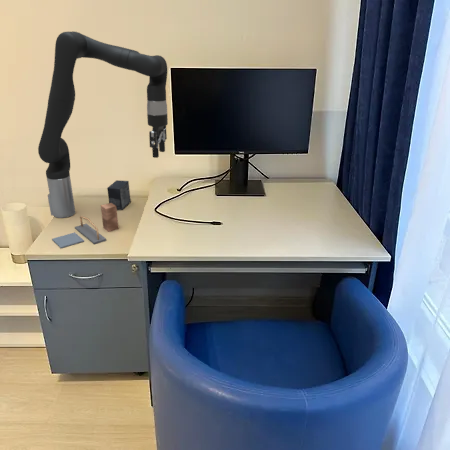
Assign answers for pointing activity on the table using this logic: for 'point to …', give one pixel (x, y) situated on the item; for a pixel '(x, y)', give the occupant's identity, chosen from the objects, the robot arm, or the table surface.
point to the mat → (68, 240)
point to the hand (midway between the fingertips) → (159, 154)
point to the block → (109, 217)
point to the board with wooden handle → (90, 232)
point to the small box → (119, 194)
